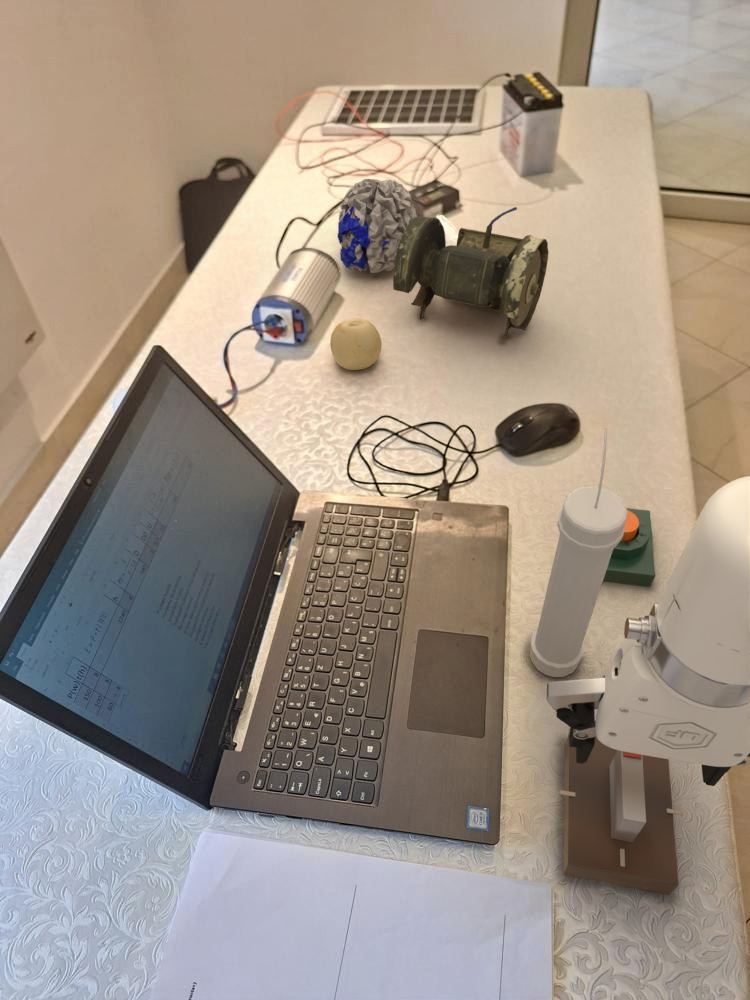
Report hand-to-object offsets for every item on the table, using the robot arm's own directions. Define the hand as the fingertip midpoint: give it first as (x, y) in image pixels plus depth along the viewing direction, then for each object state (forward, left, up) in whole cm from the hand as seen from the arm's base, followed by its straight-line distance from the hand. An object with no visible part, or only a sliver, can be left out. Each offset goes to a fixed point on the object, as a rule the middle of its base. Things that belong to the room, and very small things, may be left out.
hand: (642, 756), depth 58 cm
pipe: (+17, -2, -13) cm, 21 cm away
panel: (0, 0, -13) cm, 13 cm away
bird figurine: (+101, -20, -13) cm, 104 cm away
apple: (+74, +5, -13) cm, 75 cm away
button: (+28, -15, -9) cm, 33 cm away
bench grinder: (+80, -17, -13) cm, 83 cm away
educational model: (+104, -7, -13) cm, 105 cm away
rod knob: (0, 0, -10) cm, 10 cm away
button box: (+28, -15, -13) cm, 34 cm away
